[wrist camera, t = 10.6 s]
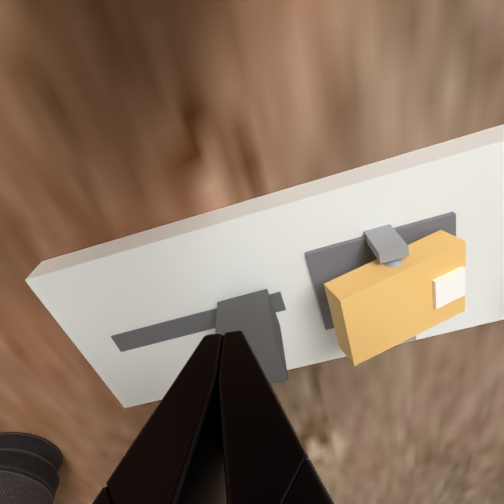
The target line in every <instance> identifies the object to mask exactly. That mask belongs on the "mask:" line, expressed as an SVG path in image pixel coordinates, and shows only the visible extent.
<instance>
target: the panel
mask: <svg viewBox="0 0 504 504" xmlns="http://www.w3.org/2000/svg"><path fill="white" fill-rule="evenodd" d="M439 230H443V231H445V232H447V233H449V234H451V235H453V236H455V237H458V238H460V239H462V240H464V241H466V266H465V311H463V312H461V313H459V314H457V315H455V316H453V317H451V318H449V319H447V320H445V321H443V322H441V323H439V324H437V325H435V326H433V327H432V328H430V329H428V330H426V331H424V332H422V333H420V334H418V335H416V336H414V337H412V338H410V339H408V340H406V341H404V342H402V343H405V342H409V341H414V340H418V339H422V338H426V337H431V336H435V335H439V334H443V333H448V332H452V331H456V330H460V329H465V328H469V327H473V326H478V325H482V324H486V323H490V322H495V321H499V320H503V319H504V124H503V125H499V126H496V127H493V128H489V129H486V130H483V131H479V132H476V133H472V134H469V135H466V136H462V137H459V138H456V139H452V140H449V141H446V142H442V143H439V144H435V145H432V146H429V147H425V148H422V149H419V150H415V151H412V152H408V153H405V154H402V155H398V156H395V157H392V158H388V159H385V160H382V161H378V162H375V163H371V164H368V165H365V166H361V167H358V168H355V169H351V170H348V171H344V172H341V173H338V174H334V175H331V176H328V177H324V178H321V179H317V180H314V181H311V182H307V183H304V184H301V185H297V186H294V187H291V188H287V189H284V190H280V191H277V192H274V193H270V194H267V195H264V196H260V197H257V198H253V199H250V200H247V201H243V202H240V203H237V204H233V205H230V206H227V207H223V208H220V209H216V210H213V211H210V212H206V213H203V214H200V215H196V216H193V217H189V218H186V219H183V220H179V221H176V222H173V223H169V224H166V225H162V226H159V227H156V228H152V229H149V230H146V231H142V232H139V233H136V234H132V235H129V236H125V237H122V238H119V239H115V240H112V241H109V242H105V243H102V244H98V245H95V246H92V247H88V248H85V249H82V250H78V251H75V252H72V253H68V254H65V255H61V256H58V257H55V258H51V259H48V260H45V261H42V262H41V263H40V264H39V265H38V266H37V267H36V268H35V269H34V271H33V272H32V273H31V274H30V275H29V276H28V277H27V278H26V279H25V281H26V282H27V284H28V285H29V286H30V288H31V289H32V290H33V291H34V293H35V294H36V295H37V297H38V298H39V299H40V300H41V302H42V303H43V304H44V306H45V307H46V308H47V309H48V311H49V312H50V313H51V314H52V316H53V317H54V318H55V320H56V321H57V322H58V323H59V325H60V326H61V327H62V329H63V330H64V331H65V332H66V334H67V335H68V336H69V338H70V339H71V340H72V341H73V343H74V344H75V345H76V347H77V348H78V349H79V350H80V352H81V353H82V354H83V356H84V357H85V358H86V359H87V361H88V362H89V363H90V365H91V366H92V367H93V368H94V370H95V371H96V372H97V374H98V375H99V376H100V377H101V379H102V380H103V381H104V383H105V384H106V385H107V386H108V388H109V389H110V390H111V392H112V393H113V394H114V395H115V397H116V398H117V399H118V401H119V402H120V403H121V404H122V406H123V407H124V408H128V407H132V406H137V405H141V404H145V403H149V402H154V401H158V400H162V399H163V397H164V396H165V394H166V393H167V391H168V390H169V388H170V387H171V385H172V384H173V382H174V381H175V379H176V378H177V376H178V375H179V373H180V372H181V370H182V369H183V367H184V365H185V364H186V362H187V361H188V359H189V358H190V356H191V355H192V353H193V352H194V350H195V349H196V347H197V346H198V344H199V343H200V341H201V340H202V338H203V337H204V336H205V335H208V334H214V333H215V328H216V315H217V302H219V301H223V300H226V299H230V298H234V297H238V296H242V295H245V294H249V293H253V292H257V291H261V290H264V289H267V290H268V292H269V295H270V298H271V301H272V304H273V307H274V310H275V313H276V315H277V318H278V321H279V324H280V328H281V334H282V341H283V347H284V354H285V360H286V367H287V370H290V369H294V368H299V367H303V366H307V365H311V364H316V363H320V362H324V361H328V360H333V359H337V358H341V357H345V356H346V355H345V353H344V352H343V351H342V350H341V348H340V347H339V344H338V340H337V336H336V332H335V328H334V324H333V320H332V316H331V311H330V307H329V303H328V299H327V295H326V291H325V287H324V283H327V282H329V281H331V280H333V279H335V278H337V277H340V276H342V275H344V274H346V273H348V272H350V271H353V270H355V269H357V268H359V267H361V266H363V265H365V264H368V263H370V262H372V261H374V260H376V259H378V261H379V262H380V264H382V263H386V262H390V261H393V260H397V259H401V258H405V257H409V246H408V245H409V244H411V243H413V242H415V241H417V240H420V239H422V238H424V237H426V236H428V235H430V234H433V233H435V232H437V231H439ZM400 344H401V343H400Z"/></svg>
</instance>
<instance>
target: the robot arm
mask: <svg viewBox="0 0 504 504" xmlns="http://www.w3.org/2000/svg"><path fill="white" fill-rule="evenodd" d="M92 504H334V503H333V501H332V499H331V497H330V495H329V494H328V492H327V490H326V488H325V487H324V485H323V483H322V481H321V479H320V477H319V475H318V474H317V472H316V470H315V468H314V466H313V464H312V462H311V460H309V459H308V455H307V453H306V451H305V449H304V447H303V445H302V443H301V441H300V440H299V438H298V436H297V434H296V432H295V430H294V428H293V426H292V424H291V422H290V420H289V418H288V417H287V415H286V413H285V411H284V409H283V407H282V405H281V403H280V401H279V399H278V397H277V395H276V394H275V392H274V390H273V388H272V386H271V384H270V382H269V380H268V378H267V376H266V374H265V372H264V371H263V369H262V367H261V365H260V363H259V361H258V359H257V357H256V355H255V353H254V351H253V349H252V348H251V346H250V344H249V342H248V340H247V338H246V336H245V334H244V332H243V331H242V330H233V331H227V332H225V333H224V334H223V333H214V334H208V335H205V336H204V337H203V338H202V340H201V341H200V343H199V344H198V346H197V347H196V349H195V350H194V352H193V353H192V355H191V356H190V358H189V359H188V361H187V362H186V364H185V365H184V367H183V369H182V370H181V372H180V373H179V375H178V376H177V378H176V379H175V381H174V382H173V384H172V385H171V387H170V388H169V390H168V391H167V393H166V394H165V396H164V397H163V399H162V400H161V402H160V403H159V405H158V406H157V408H156V409H155V411H154V412H153V414H152V415H151V417H150V418H149V420H148V421H147V423H146V424H145V426H144V427H143V429H142V430H141V432H140V433H139V435H138V436H137V438H136V439H135V441H134V442H133V444H132V445H131V447H130V448H129V450H128V451H127V453H126V454H125V456H124V457H123V459H122V460H121V462H120V463H119V465H118V466H117V468H116V469H115V471H114V472H113V474H112V475H111V477H110V478H109V480H108V481H107V487H103V488H102V490H101V491H100V493H99V494H98V496H97V497H96V499H95V500H94V502H93V503H92Z"/></svg>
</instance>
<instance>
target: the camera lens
mask: <svg viewBox="0 0 504 504" xmlns="http://www.w3.org/2000/svg"><path fill="white" fill-rule="evenodd" d="M61 463H62V455H61V453H60V451H59V450H58V449H57V448H56V447H55V446H54V445H53V444H51V443H50V442H48V441H46V440H44V439H42V438H39V437H36V436H33V435H28V434H23V433H2V434H0V504H53V500H54V497H55V493H56V490H57V487H58V484H59V474H58V471H59V469H60V466H61Z"/></svg>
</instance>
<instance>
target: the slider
mask: <svg viewBox="0 0 504 504" xmlns="http://www.w3.org/2000/svg"><path fill="white" fill-rule="evenodd" d="M233 330H242V331H243V332H244V334H245V336H246V338H247V340H248V342H249V344H250V346H251V348H252V349H253V351H254V353H255V355H256V357H257V359H258V361H259V363H260V365H261V367H262V369H263V371H264V372H265V374H266V376H267V378H268V380H269V382H270V384H273V383H277V382H281V381H286V380H288V373H287V367H286V360H285V354H284V347H283V341H282V334H281V328H280V324H279V321H278V318H277V315H276V313H275V310H274V307H273V304H272V301H271V298H270V295H269V292H268V290H267V289H264V290H261V291H257V292H253V293H249V294H245V295H242V296H238V297H234V298H230V299H226V300H223V301H219V302H217V315H216V328H215V333H223V334H224V333H225V332H227V331H233Z"/></svg>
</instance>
